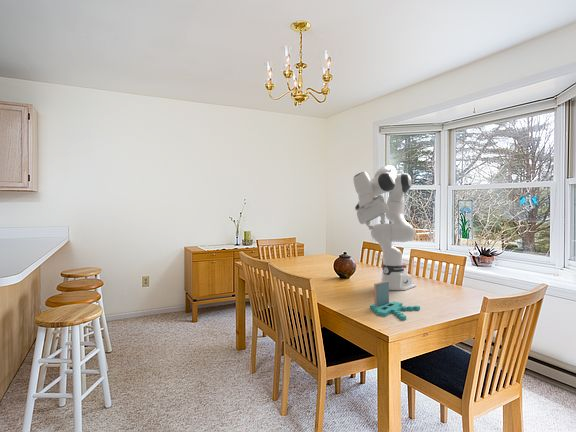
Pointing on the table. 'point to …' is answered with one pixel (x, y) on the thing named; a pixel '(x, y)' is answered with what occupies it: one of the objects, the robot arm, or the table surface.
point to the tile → (381, 293)
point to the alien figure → (393, 309)
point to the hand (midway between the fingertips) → (377, 226)
